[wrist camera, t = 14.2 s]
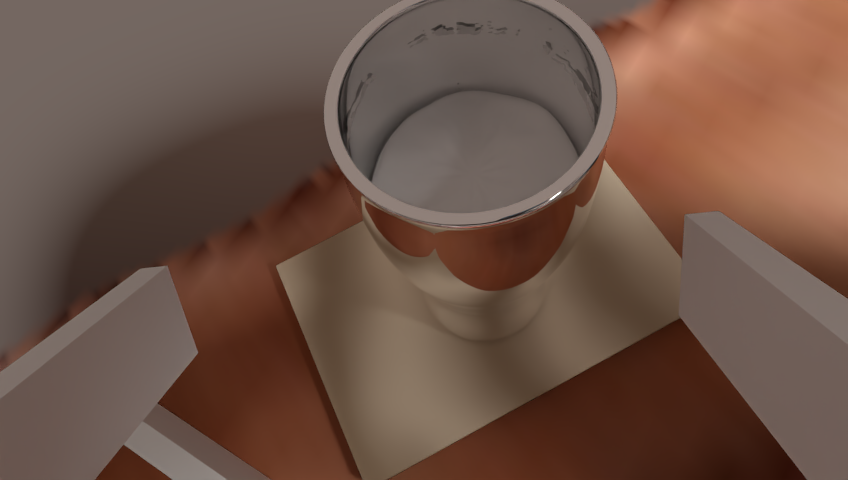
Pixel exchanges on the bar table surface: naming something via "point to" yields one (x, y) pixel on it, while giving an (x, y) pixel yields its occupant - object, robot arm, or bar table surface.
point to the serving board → (461, 358)
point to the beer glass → (473, 148)
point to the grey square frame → (185, 450)
